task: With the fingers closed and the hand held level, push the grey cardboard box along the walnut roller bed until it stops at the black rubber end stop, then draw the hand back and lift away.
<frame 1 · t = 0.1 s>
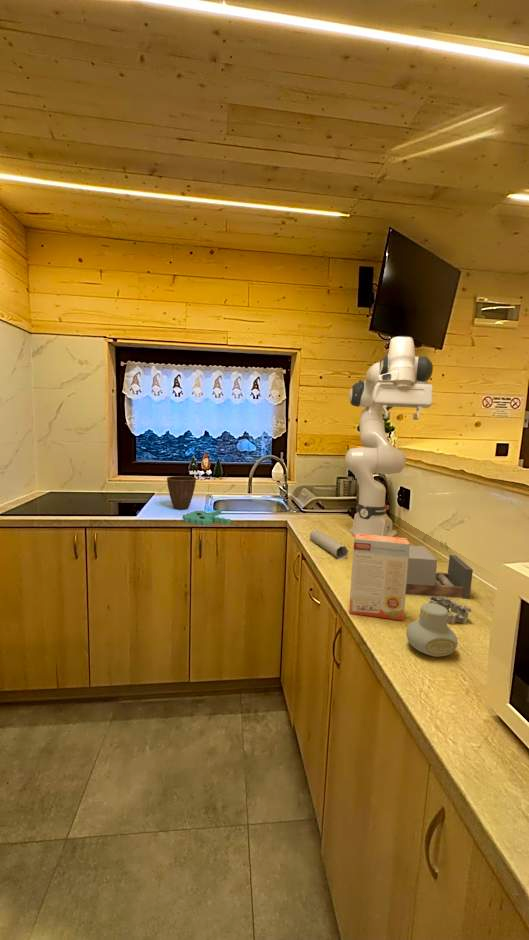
hand: (401, 418, 145), 52 cm above the countertop, tool tilted 20°, fingers open, 8 cm apart
air freshener: (430, 650, 98), on the countertop
alien figure: (204, 520, 204), on the countertop
grey cardboard box: (412, 564, 133), point 7 cm above the countertop, slide at 0.0 cm
cracker box: (375, 613, 115), on the countertop
roller bed: (426, 587, 134), on the countertop
plant pot: (180, 508, 223), on the countertop
egg carton: (446, 616, 116), on the countertop
tube: (326, 549, 168), on the countertop
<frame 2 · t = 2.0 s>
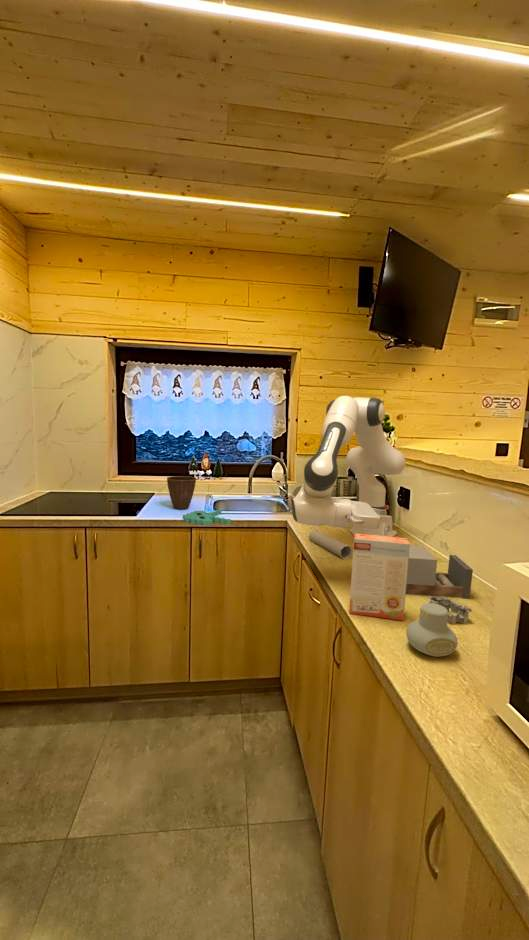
hand: (388, 516, 131), 22 cm above the countertop, tool horizontal, fingers open, 6 cm apart
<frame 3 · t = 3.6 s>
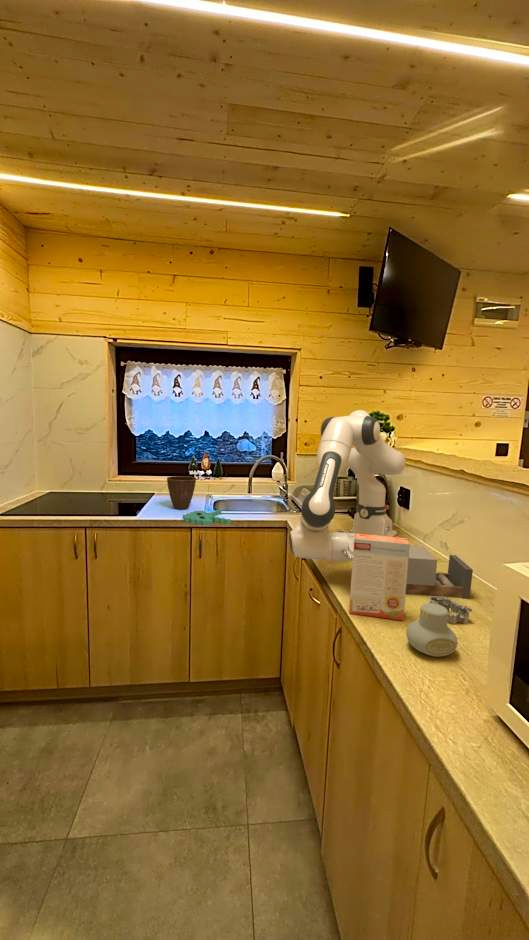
hand: (385, 550, 133), 11 cm above the countertop, tool horizontal, fingers closed
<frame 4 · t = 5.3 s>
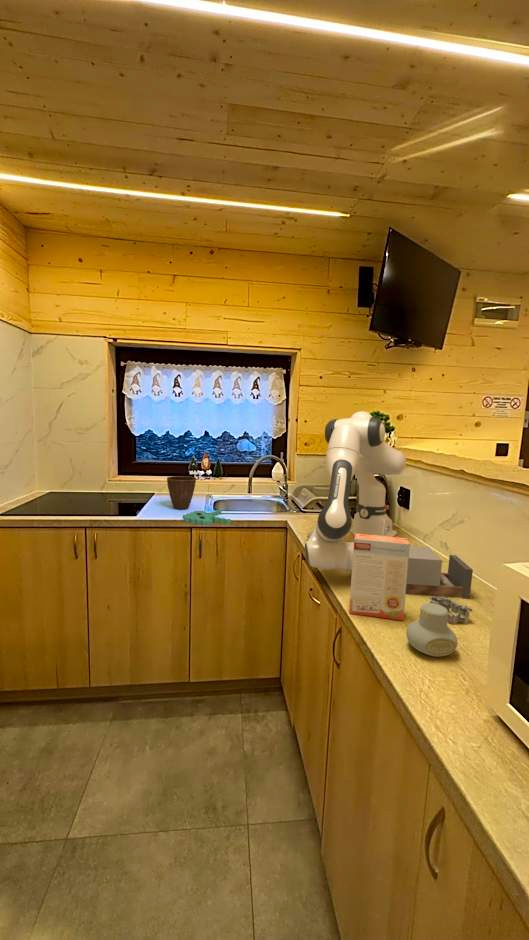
hand: (401, 559, 133), 8 cm above the countertop, tool horizontal, fingers closed, pressing on grey cardboard box
grey cardboard box: (417, 564, 133), point 7 cm above the countertop, slide at 1.4 cm, touching gripper
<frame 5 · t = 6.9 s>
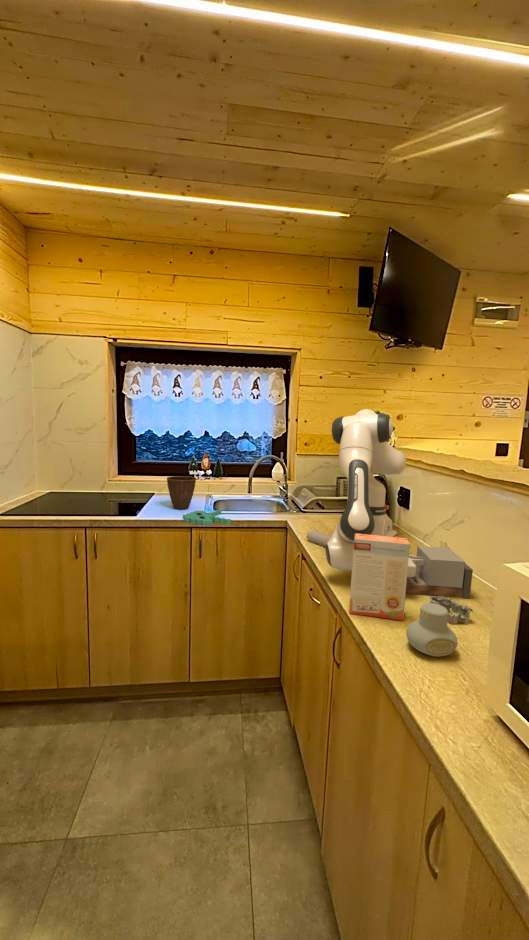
hand: (422, 561, 133), 8 cm above the countertop, tool horizontal, fingers closed, pressing on grey cardboard box
grey cardboard box: (438, 565, 133), point 7 cm above the countertop, slide at 8.0 cm, touching gripper
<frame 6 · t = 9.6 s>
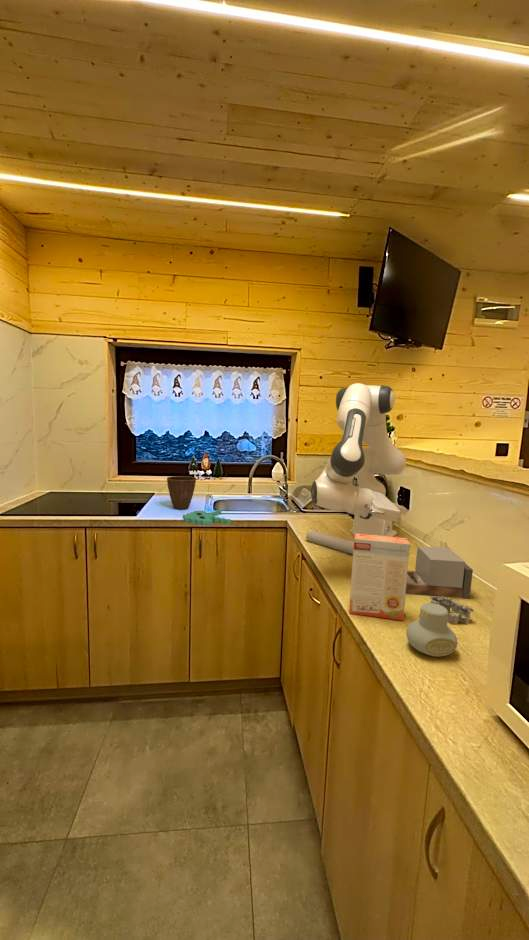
hand: (405, 510, 134), 24 cm above the countertop, tool horizontal, fingers closed
grey cardboard box: (438, 565, 133), point 7 cm above the countertop, slide at 8.0 cm
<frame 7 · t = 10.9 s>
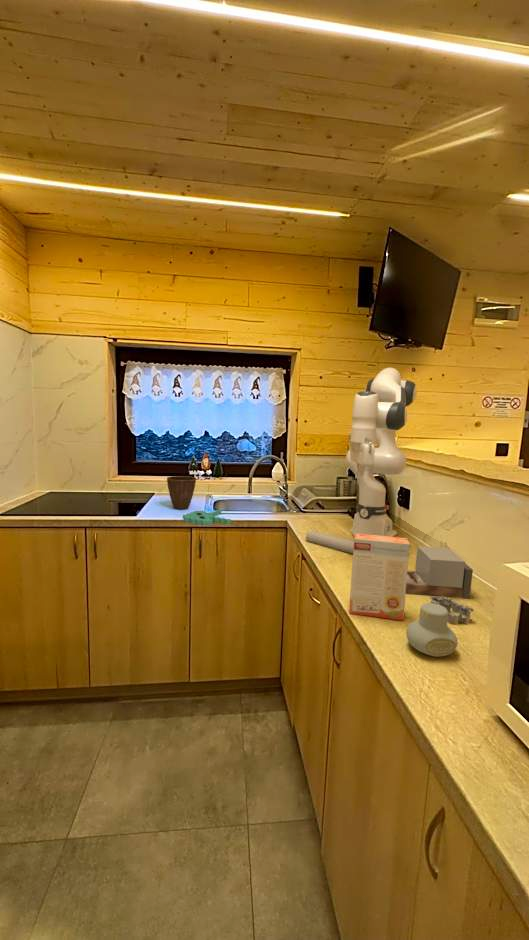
hand: (360, 476, 153), 31 cm above the countertop, tool pointing down, fingers closed
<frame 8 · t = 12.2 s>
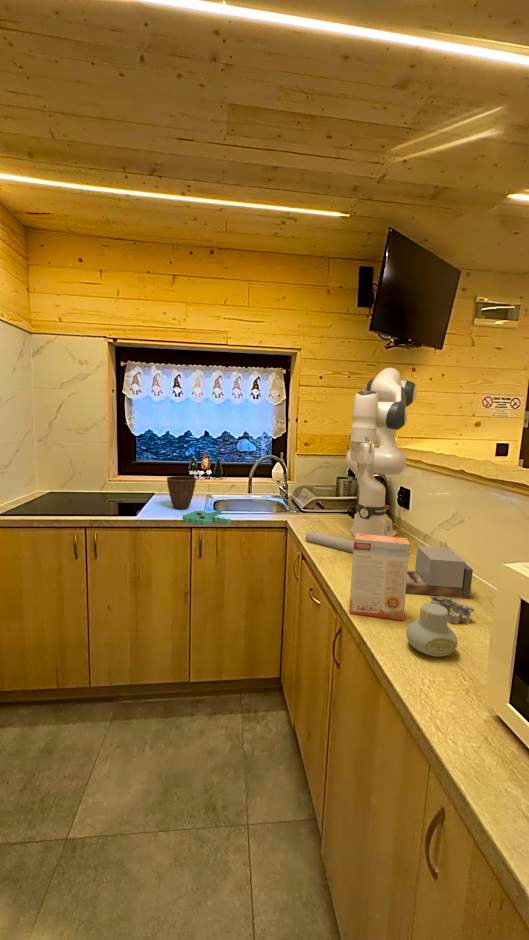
hand: (360, 475, 153), 31 cm above the countertop, tool pointing down, fingers closed
at the end: grey cardboard box slide at 8.0 cm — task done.
